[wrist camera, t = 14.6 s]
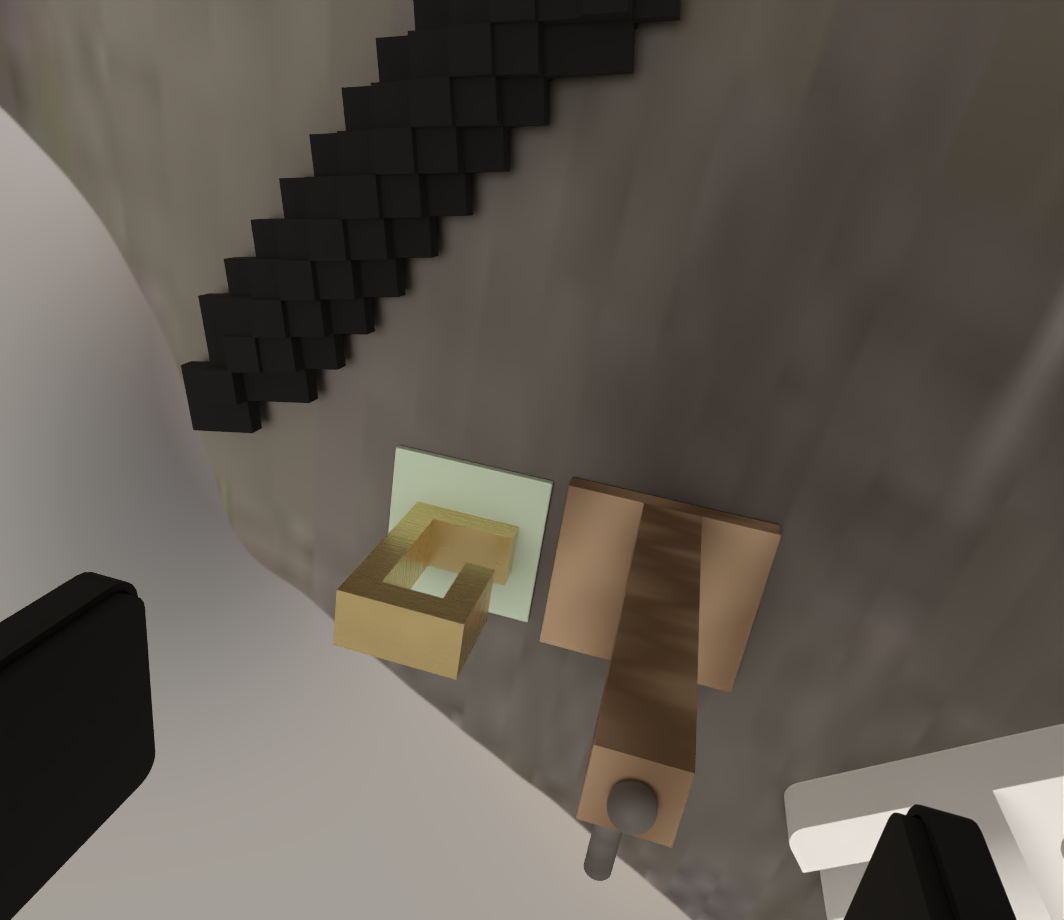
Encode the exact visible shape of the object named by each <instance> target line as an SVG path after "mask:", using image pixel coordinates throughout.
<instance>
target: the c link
mask: <svg viewBox="0 0 1064 920" xmlns="http://www.w3.org/2000/svg"><path fill="white" fill-rule="evenodd" d="M518 529H519V527H518V526H514V525H510V524H506V523H502V522H498V521H494V520H490V519H486V518H482V517H478V516H474V515H470V514H466V513H462V512H458V511H454V510H450V509H446V508H442V507H438V506H434V505H430V504H426V503H422V502H417V503H416V504H415V505H414V506H413V507H412V508H411V509H410V511H409V512H408V513H407V514H406V515H405V516H404V517H403V518H402V519H401V520H400V521H399V523H398V524H397V525H396V526H395V527H394V528H393V529H392V530H391V531H390V532H389V534H388V535H387V536H386V537H385V538H384V539H383V540H382V541H381V542H380V543H379V544H378V546H377V547H376V548H375V549H374V550H373V551H372V552H371V553H370V554H369V555H368V556H367V558H366V559H365V560H364V561H363V562H362V563H361V564H360V565H359V566H358V567H357V568H356V570H355V571H354V572H353V573H352V574H351V575H350V576H349V577H348V578H347V579H346V580H345V582H344V583H343V584H342V585H341V586H340V587H339V588H338V589H337V596H336V611H335V626H334V642H333V645H336V646H340V647H344V648H347V649H350V650H354V651H357V652H361V653H364V654H368V655H371V656H375V657H378V658H382V659H385V660H389V661H392V662H396V663H399V664H403V665H406V666H410V667H414V668H417V669H421V670H424V671H428V672H431V673H435V674H438V675H442V676H445V677H449V678H452V679H457V677H458V675H459V673H460V671H461V670H462V668H463V666H464V664H465V662H466V660H467V658H468V656H469V654H470V652H471V650H472V648H473V646H474V644H475V642H476V640H477V638H478V636H479V634H480V632H481V630H482V628H483V626H484V625H485V623H486V621H487V616H488V610H489V604H490V598H491V591H492V585H493V583H496V584H500V585H505V583H506V582H507V580H508V578H509V576H510V574H511V570H512V564H513V558H514V552H515V546H516V540H517V535H518ZM427 566H431V567H435V568H439V569H443V570H447V571H451V572H454V573H458V576H457V577H456V579H455V580H454V582H453V584H452V585H451V587H450V588H449V590H448V591H447V593H446V594H445V596H444V598H441V597H437V596H433V595H430V594H426V593H422V592H418V591H415V590H411V588H412V587H413V585H414V584H415V583H416V581H417V580H418V579H419V577H420V576H421V574H422V573H423V572H424V570H425V569H426V568H427Z"/></svg>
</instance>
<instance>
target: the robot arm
mask: <svg viewBox="0 0 1064 920" xmlns="http://www.w3.org/2000/svg"><path fill="white" fill-rule="evenodd" d="M148 659H149V658H148V644H147V630H146V617H145V606H144V602H143V601H142V600H141V598H138V595H137V591H136V589H135V587H134V586H133V585H132V584H130V583H128V582H125V581H122V580H118V579H114V578H111V577H107V576H103V575H100V574H97V573H93V572H84V573H82V574H79V575H77V576H75V577H74V578H72V579H71V580H69V581H67V582H65V583H64V584H62V585H61V586H59V587H57V588H56V589H54V590H52V591H51V592H49V593H47V594H46V595H44V596H43V597H41V598H39V599H38V600H36V601H34V602H33V603H31V604H29V605H28V606H26V607H25V608H23V609H21V610H20V611H18V612H17V613H15V614H13V615H12V616H10V617H8V618H7V619H5V620H3V621H2V622H0V920H11V919H12V918H13V917H14V916H15V915H16V914H17V912H18V911H19V910H20V909H21V908H22V907H23V906H24V905H25V904H26V903H27V902H28V901H29V900H30V899H31V898H32V897H33V896H34V895H35V894H36V893H37V892H38V891H39V890H40V889H41V888H42V887H43V886H44V884H45V883H46V882H47V881H48V880H49V879H50V878H51V877H52V876H53V875H54V874H55V873H56V872H57V871H58V870H59V869H60V868H61V867H62V866H63V865H64V864H65V862H67V861H68V860H69V858H70V857H71V856H72V855H73V854H74V853H75V852H76V851H77V850H78V849H79V848H80V847H81V846H82V845H83V844H84V843H85V842H86V841H87V840H88V839H89V838H90V837H91V836H92V834H94V833H95V831H96V830H97V829H98V828H99V827H100V826H101V825H102V824H103V823H104V822H105V821H106V820H107V819H108V818H109V817H110V816H111V815H112V814H113V813H114V812H115V811H116V810H117V809H118V808H119V806H120V805H121V804H122V803H123V802H124V801H125V800H126V799H127V798H128V797H129V796H130V795H131V794H132V793H133V792H134V791H135V790H136V789H137V788H138V787H139V786H140V785H141V784H142V782H143V781H144V780H145V779H146V777H147V775H148V774H149V772H150V770H151V768H152V765H153V762H154V758H155V743H154V729H153V716H152V701H151V686H150V672H149V660H148ZM844 920H1017V919H1016V917H1015V914H1014V912H1013V909H1012V907H1011V904H1010V902H1009V899H1008V897H1007V894H1006V892H1005V889H1004V886H1003V884H1002V881H1001V879H1000V876H999V874H998V871H997V869H996V866H995V864H994V861H993V859H992V856H991V854H990V851H989V849H988V846H987V844H986V841H985V839H984V836H983V833H982V831H981V830H980V828H979V826H978V824H977V823H976V822H975V821H973V820H972V819H970V818H966V817H962V816H959V815H955V814H952V813H948V812H945V811H941V810H937V809H934V808H930V807H927V806H923V805H919V804H915V805H913V806H912V807H911V808H910V809H909V810H908V812H907V814H906V815H904V814H900V813H895V812H894V813H893V814H892V815H891V816H890V817H889V819H888V821H887V823H886V825H885V827H884V830H883V832H882V834H881V836H880V839H879V841H878V843H877V845H876V848H875V850H874V852H873V854H872V857H871V859H870V861H869V863H868V866H867V868H866V870H865V872H864V875H863V877H862V879H861V881H860V884H859V886H858V888H857V890H856V893H855V895H854V897H853V899H852V902H851V904H850V906H849V908H848V911H847V913H846V915H845V917H844Z"/></svg>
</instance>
